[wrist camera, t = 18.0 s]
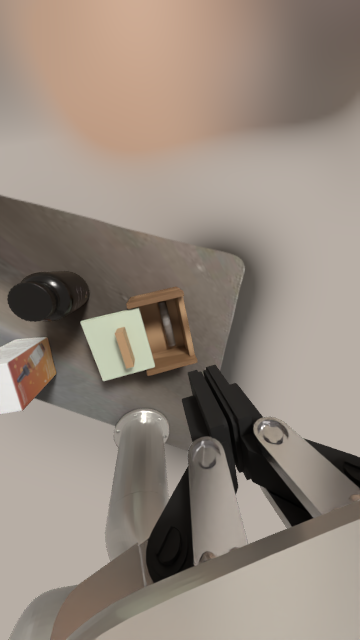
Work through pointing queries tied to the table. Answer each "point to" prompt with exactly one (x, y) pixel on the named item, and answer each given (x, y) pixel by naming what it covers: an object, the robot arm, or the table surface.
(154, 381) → the table surface
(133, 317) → the lid
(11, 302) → the supplement bottle
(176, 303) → the brown wooden box
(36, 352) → the small box
